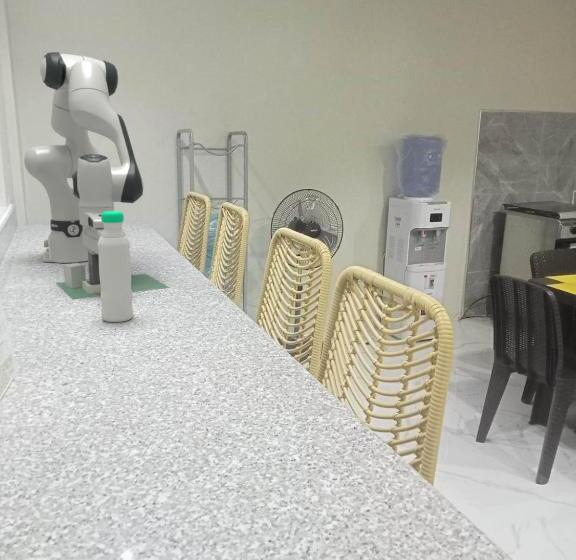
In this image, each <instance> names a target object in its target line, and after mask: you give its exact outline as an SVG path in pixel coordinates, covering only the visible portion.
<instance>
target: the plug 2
mask: <svg viewBox="0 0 576 560" xmlns="http://www.w3.org/2000/svg"><path fill="white" fill-rule="evenodd" d="M88 261H89V266H88V274H89V280H90V282H91V283H93V284H100V276H99V255H98V254H96V253H94V252H92V251H90V252H88ZM88 261H87V262H88Z"/></svg>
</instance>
